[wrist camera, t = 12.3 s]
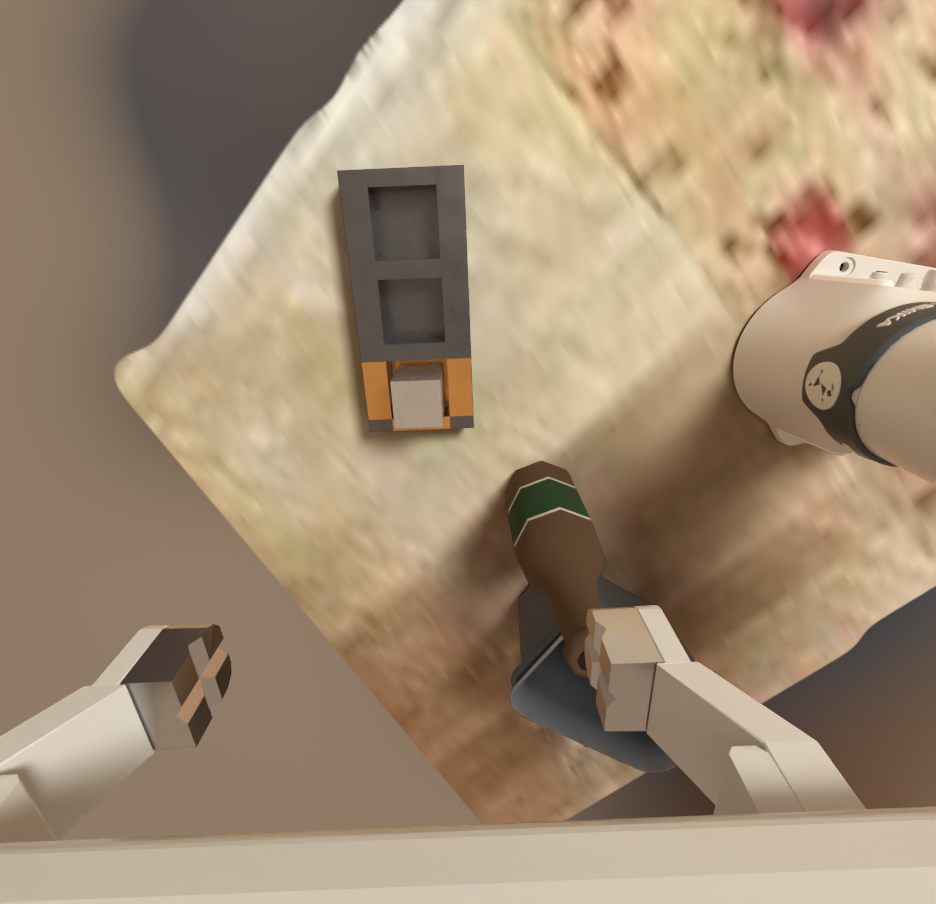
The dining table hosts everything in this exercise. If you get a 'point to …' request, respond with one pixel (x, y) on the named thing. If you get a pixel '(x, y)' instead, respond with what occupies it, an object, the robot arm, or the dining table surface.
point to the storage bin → (573, 684)
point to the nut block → (418, 395)
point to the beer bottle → (557, 550)
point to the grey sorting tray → (409, 282)
